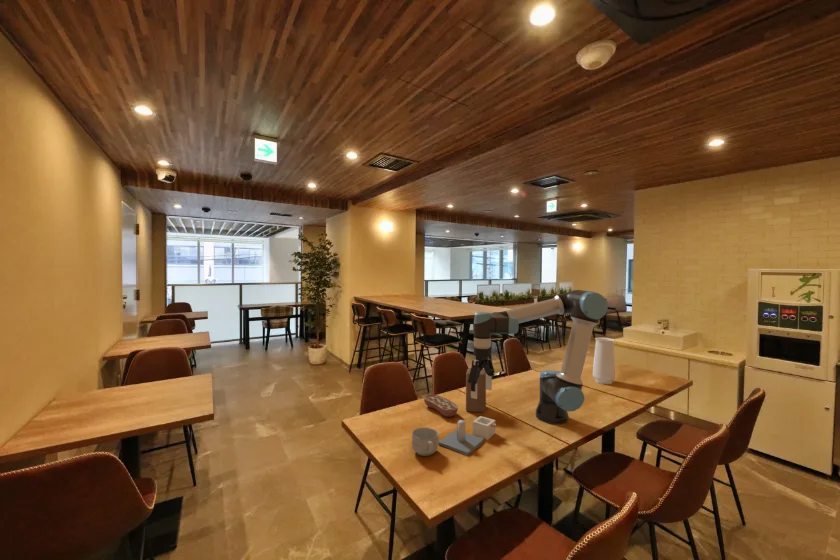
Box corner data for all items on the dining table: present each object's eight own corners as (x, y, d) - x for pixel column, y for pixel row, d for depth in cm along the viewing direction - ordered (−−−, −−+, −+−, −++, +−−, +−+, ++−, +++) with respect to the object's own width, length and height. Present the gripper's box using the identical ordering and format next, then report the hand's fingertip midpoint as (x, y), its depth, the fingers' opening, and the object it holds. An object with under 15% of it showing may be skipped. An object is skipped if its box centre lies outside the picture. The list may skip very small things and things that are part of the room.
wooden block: (485, 413, 177) (485, 374, 176) (465, 411, 179) (466, 373, 178) (485, 405, 187) (486, 368, 186) (467, 404, 189) (467, 367, 188)
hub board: (483, 441, 149) (484, 420, 148) (467, 455, 137) (468, 432, 137) (455, 432, 157) (455, 412, 157) (438, 444, 146) (438, 423, 145)
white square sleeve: (472, 434, 154) (472, 421, 154) (480, 428, 160) (480, 415, 160) (492, 441, 149) (492, 427, 149) (499, 434, 155) (499, 421, 154)
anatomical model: (420, 406, 187) (420, 396, 187) (435, 402, 192) (435, 393, 192) (447, 421, 168) (447, 411, 168) (462, 416, 174) (462, 406, 173)
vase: (619, 385, 220) (620, 341, 219) (598, 385, 220) (599, 341, 219) (608, 378, 233) (609, 337, 232) (588, 378, 233) (589, 337, 232)
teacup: (411, 445, 145) (411, 426, 145) (436, 444, 146) (437, 425, 146) (413, 464, 131) (413, 443, 131) (441, 463, 132) (441, 442, 132)
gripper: (487, 341, 168) (487, 384, 169) (460, 350, 148) (459, 399, 149) (502, 343, 163) (501, 388, 164) (475, 353, 144) (475, 404, 145)
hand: (481, 393), depth 157 cm, fingers open, 13 cm apart
